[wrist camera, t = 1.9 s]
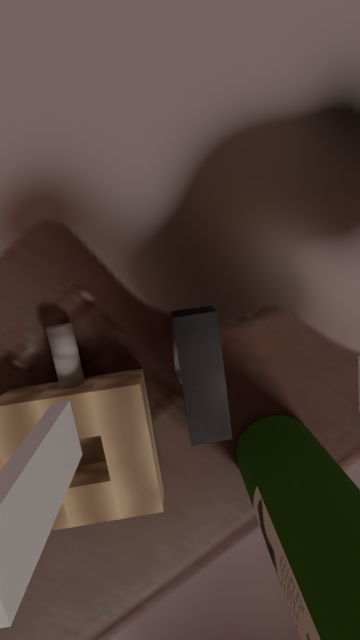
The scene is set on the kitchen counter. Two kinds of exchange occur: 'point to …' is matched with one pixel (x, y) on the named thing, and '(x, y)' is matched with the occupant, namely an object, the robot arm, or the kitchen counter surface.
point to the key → (201, 373)
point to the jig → (93, 436)
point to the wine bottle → (306, 524)
